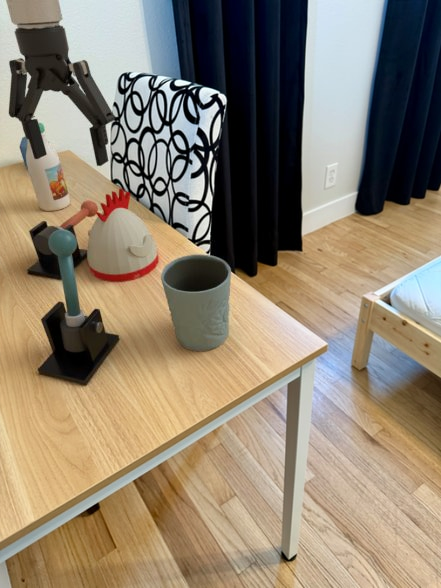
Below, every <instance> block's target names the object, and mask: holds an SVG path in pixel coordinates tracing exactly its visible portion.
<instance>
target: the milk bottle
mask: <svg viewBox="0 0 441 588" xmlns="http://www.w3.org/2000/svg"><path fill="white" fill-rule="evenodd" d="M38 124H39V127H40V131H41V135H42V138H43V142H44V146H45V149H46V153H47V155H45V156H43V157H41V158H39V159H34V156H33V152H32V149H31V145H30V142H29V139H27V152H26V162H27V167H26V168H27V170H28V174H29V177H30V181H31V184H32V187H33V191H34V194H35V198H36V201H37V204H38V206H39V209H41V210H43V211H47V212H54V211H59V210H62V209H65V208H67V207H68V206H69V205H70V204H71V198H70V195H69V190H68V186H67V181H66V179H65V175H64V171H63V167H62V164H61V161H60V158H59V155H58V153H57V152H56V150H55V149H54V148H53V146H52V145H51V144H49V143H50V141H49V140H48V138H47V137H46V130H45V129H46V128H45V126H44V124H43V123H42V122H38ZM22 131H23V132H24V130H23V129H22ZM48 141H49V142H48Z"/></svg>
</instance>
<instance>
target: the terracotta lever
mask: <svg viewBox="0 0 441 588" xmlns="http://www.w3.org/2000/svg"><path fill="white" fill-rule="evenodd" d="M96 212H99V207H98V205H97V203H96V202H95V201H93V200H85V201H83V202H82V203H81V205H80V210H79V211H78V212H76V213H74V214H73V215H72V216H70V218H68V219H67V220H66V221H64V222H63V223H62V224H60V225H59V226H58V225H57V226H55V225H48V227H47V228H45V229H44V230H43V231H41V232H40V233H39V234H37V235H36V236H35V237H34V240H33V241H34V244H33V246H34V245H35V247H36V248H37V249H38V250H39V251H40V252H41V253H43V254H45V255H51V254H52V253H53V252H52V251H51V250H50V248H49V244H48V241H49V237H50V235H51V234H52V233H53V232H55V231H57V230H61V229H65V228H66V227H67V226H68V225H73V227H74V228H75V227H76V226H77V225H78V224H79V223H81V221H82V222H83V220H84V219H85V218H93V217H95V216H97V214H96ZM33 241H32V242H33ZM35 247H34V248H35Z"/></svg>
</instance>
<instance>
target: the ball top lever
mask: <svg viewBox="0 0 441 588" xmlns="http://www.w3.org/2000/svg"><path fill="white" fill-rule="evenodd" d="M76 238H77V236H76V237H75V236H74V235H73V233H71V232H70V231H68V230H64V229H61V230H57V231H55V232H53V233H52V234H51V235H50V237H49V241H48V244H49V248H50V250H51V251H52V252H53V253H54V254H56V255H58V260H59V266H60V272H61V278H62V280H61V282H62V289H63V295H64V300H65V306H66V307H65V308H66V313H65V319H64V320H63V321H62V322H61V323H60V328H61V333H62V339H63V344H64V348H65V349H66V350H67V351H70V352H82V351H85V347H84V344H83V340H82V337H81V334H80V331H79V326H80V325H81V324H82V323H83V322H84V321H85V319H86V318H87V317H88V315H85V312H84V311H83V310H82V309H81V305H80V299H79V293H78V286H77V279H76V274H75V269H74V266H73V259H72V253H73V252H74V251H75V249H76V247H77V242H78V239H77V240H76Z"/></svg>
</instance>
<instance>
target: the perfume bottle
mask: <svg viewBox="0 0 441 588" xmlns="http://www.w3.org/2000/svg"><path fill="white" fill-rule="evenodd" d="M48 142H49V144H50V141H49V140H48ZM50 145H51V144H50ZM19 150H20V153H21V158H22V160H23V164H24V166H25V168H28V167H27V162H26V152H27V138H26V136H25V135H24V136H23V137H22V138H21V141H20V144H19Z"/></svg>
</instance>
